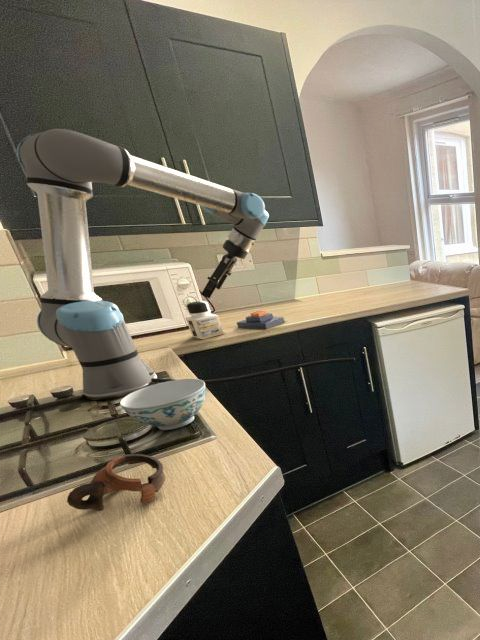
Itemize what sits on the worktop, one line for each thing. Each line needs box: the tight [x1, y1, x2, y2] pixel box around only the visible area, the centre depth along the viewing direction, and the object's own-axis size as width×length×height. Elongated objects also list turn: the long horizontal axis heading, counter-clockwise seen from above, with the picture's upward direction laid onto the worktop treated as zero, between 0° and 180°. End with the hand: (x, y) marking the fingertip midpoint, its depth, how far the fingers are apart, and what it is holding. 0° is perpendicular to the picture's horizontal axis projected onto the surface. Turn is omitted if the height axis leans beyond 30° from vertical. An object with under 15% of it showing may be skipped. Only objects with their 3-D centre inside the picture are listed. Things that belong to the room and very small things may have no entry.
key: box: [250, 310, 267, 317], centre depth 171 cm, size 4×4×2 cm
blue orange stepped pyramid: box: [236, 312, 285, 330], centre depth 172 cm, size 14×10×4 cm
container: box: [185, 300, 224, 340], centre depth 158 cm, size 8×8×13 cm
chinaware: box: [119, 378, 207, 431], centre depth 94 cm, size 15×15×8 cm
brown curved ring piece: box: [66, 453, 166, 512], centre depth 68 cm, size 12×10×8 cm
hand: (210, 291), depth 155 cm, fingers open, 13 cm apart
